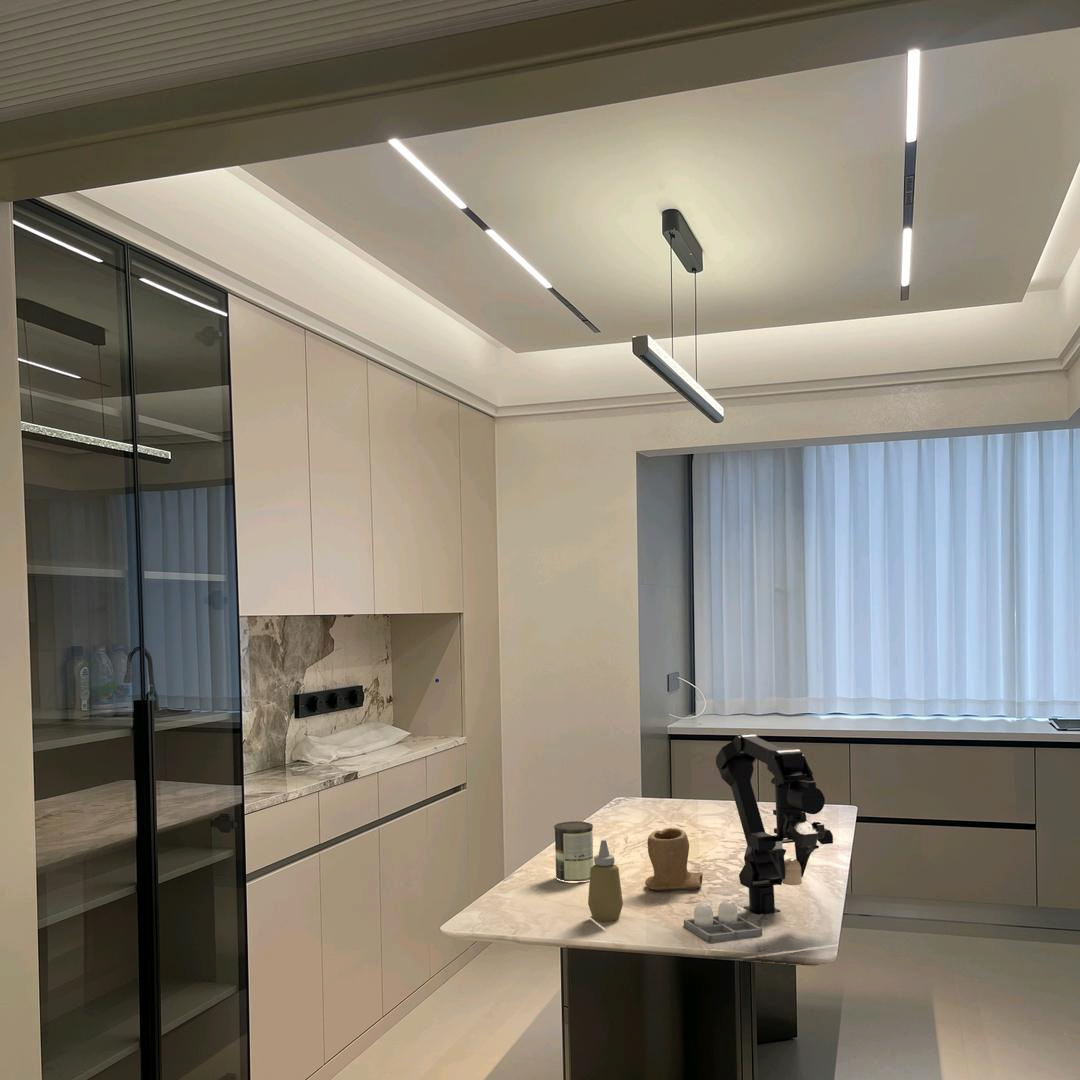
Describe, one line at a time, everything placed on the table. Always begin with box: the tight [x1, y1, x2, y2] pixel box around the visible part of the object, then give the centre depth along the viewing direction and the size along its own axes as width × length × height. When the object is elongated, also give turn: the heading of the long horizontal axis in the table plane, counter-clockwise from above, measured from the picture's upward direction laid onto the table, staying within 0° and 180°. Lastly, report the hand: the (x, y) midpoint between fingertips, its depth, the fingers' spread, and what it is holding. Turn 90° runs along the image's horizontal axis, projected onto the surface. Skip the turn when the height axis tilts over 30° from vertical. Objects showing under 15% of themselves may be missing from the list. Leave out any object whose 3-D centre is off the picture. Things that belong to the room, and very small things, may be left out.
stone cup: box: [644, 827, 704, 891], centre depth 271 cm, size 15×12×15 cm
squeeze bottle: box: [587, 839, 624, 923], centre depth 246 cm, size 8×8×18 cm
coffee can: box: [554, 820, 594, 881], centre depth 284 cm, size 10×10×14 cm
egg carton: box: [683, 914, 763, 943], centre depth 234 cm, size 13×13×2 cm
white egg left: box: [717, 900, 738, 924], centre depth 237 cm, size 4×4×5 cm
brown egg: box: [782, 858, 803, 886], centre depth 236 cm, size 4×4×5 cm
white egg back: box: [693, 903, 714, 927], centre depth 236 cm, size 4×4×5 cm
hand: (791, 877), depth 236 cm, fingers closed on brown egg, 4 cm apart
